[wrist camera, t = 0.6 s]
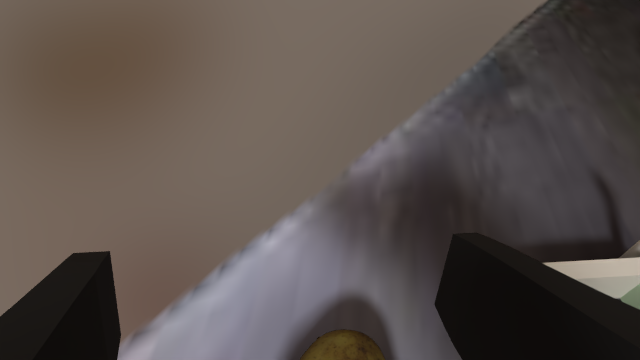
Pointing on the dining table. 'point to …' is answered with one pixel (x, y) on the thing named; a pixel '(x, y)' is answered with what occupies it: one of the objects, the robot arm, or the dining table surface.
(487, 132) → the dining table surface
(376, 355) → the potato
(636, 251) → the flag
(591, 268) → the corral
